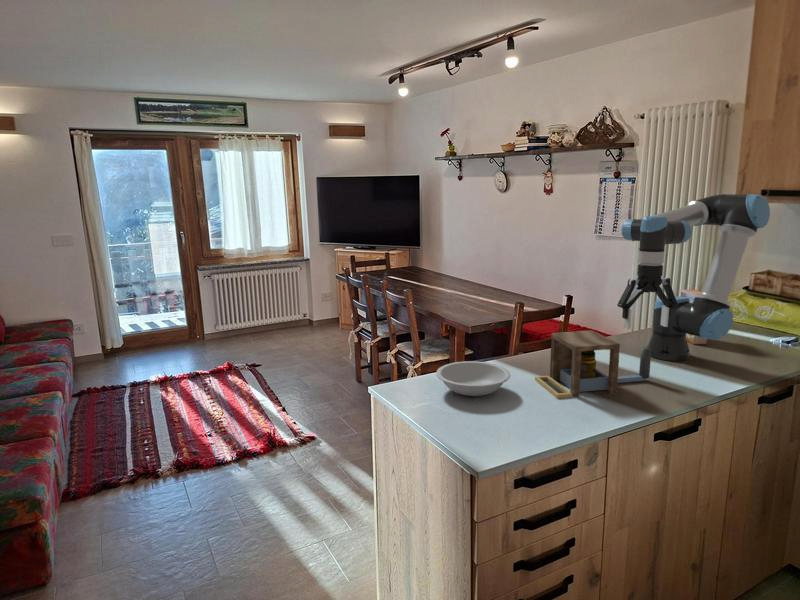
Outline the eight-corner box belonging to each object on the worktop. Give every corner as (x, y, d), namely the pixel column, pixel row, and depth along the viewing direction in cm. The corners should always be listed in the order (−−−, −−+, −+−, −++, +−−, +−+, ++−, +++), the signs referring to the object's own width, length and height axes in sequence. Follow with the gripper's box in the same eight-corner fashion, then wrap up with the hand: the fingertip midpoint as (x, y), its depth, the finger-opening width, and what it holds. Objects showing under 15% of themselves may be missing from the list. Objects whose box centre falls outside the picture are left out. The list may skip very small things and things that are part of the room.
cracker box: (708, 344, 222) (713, 295, 218) (693, 345, 222) (698, 295, 218) (690, 335, 236) (694, 288, 232) (676, 335, 236) (680, 289, 232)
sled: (638, 373, 189) (640, 343, 187) (658, 384, 179) (660, 353, 177) (559, 380, 185) (561, 349, 182) (575, 392, 174) (576, 359, 172)
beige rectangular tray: (548, 378, 187) (548, 375, 187) (571, 397, 171) (571, 393, 171) (534, 380, 186) (534, 376, 186) (556, 398, 170) (557, 394, 170)
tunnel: (589, 375, 190) (592, 330, 186) (616, 393, 173) (619, 343, 170) (549, 378, 187) (551, 333, 184) (573, 397, 171) (575, 347, 168)
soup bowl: (455, 374, 193) (455, 357, 192) (520, 386, 181) (520, 367, 180) (423, 397, 173) (423, 378, 172) (494, 411, 161) (494, 391, 160)
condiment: (600, 386, 180) (602, 352, 177) (583, 392, 175) (585, 356, 173) (582, 380, 186) (584, 346, 183) (566, 385, 181) (567, 351, 179)
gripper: (677, 261, 181) (671, 322, 185) (609, 263, 177) (605, 326, 181) (692, 264, 174) (686, 327, 178) (621, 266, 170) (617, 331, 174)
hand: (645, 327), depth 180 cm, fingers open, 13 cm apart
